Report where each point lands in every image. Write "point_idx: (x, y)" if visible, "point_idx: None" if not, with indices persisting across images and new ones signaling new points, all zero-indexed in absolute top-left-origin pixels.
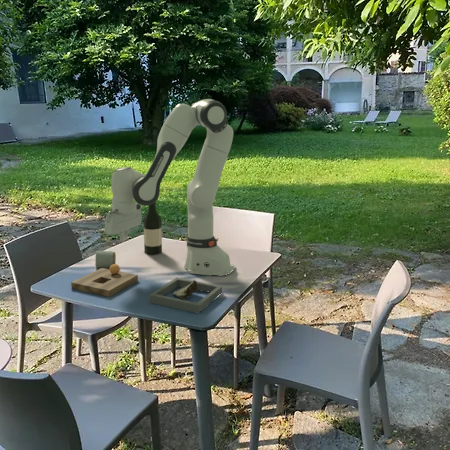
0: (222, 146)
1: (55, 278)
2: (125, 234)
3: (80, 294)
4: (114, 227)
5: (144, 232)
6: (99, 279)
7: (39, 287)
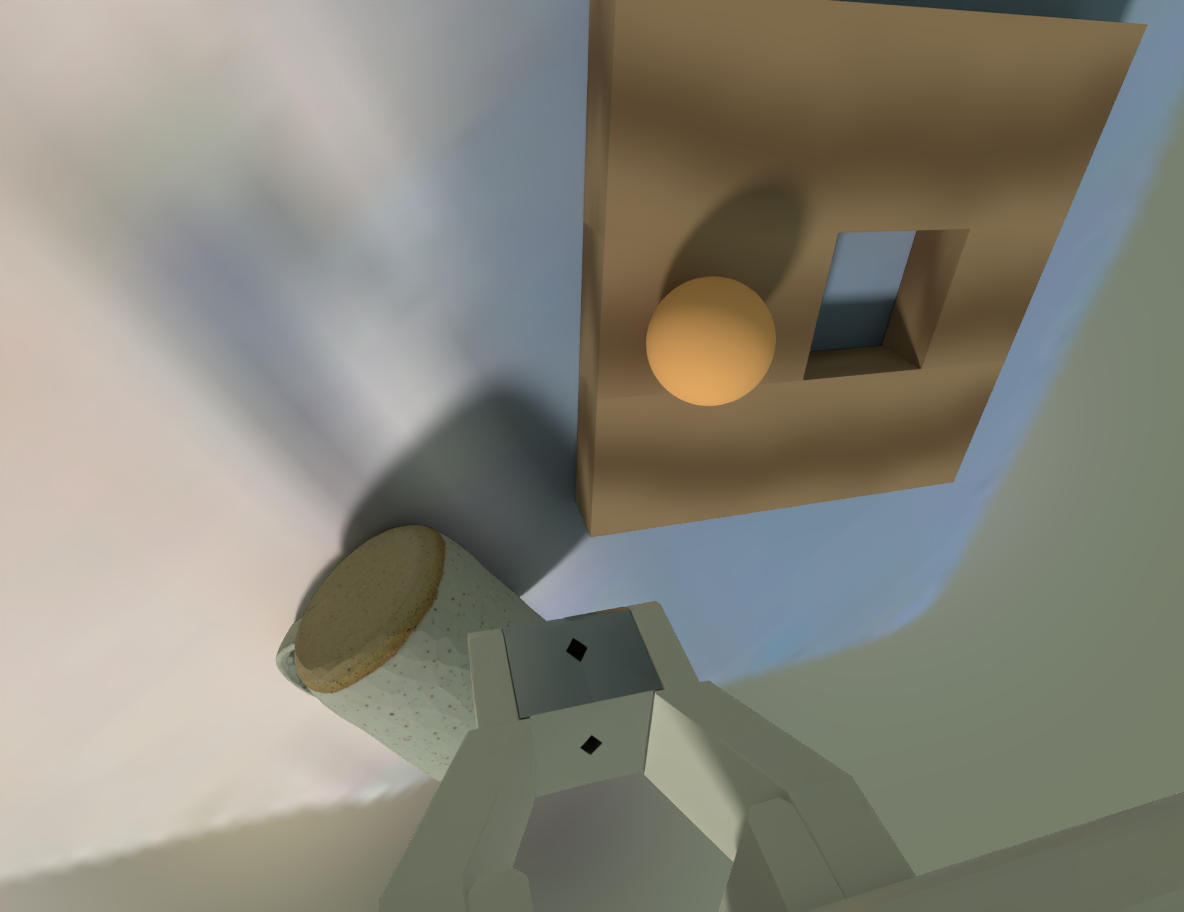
0: None
1: (777, 648)
2: (524, 786)
3: None
4: None
5: None
6: (810, 370)
7: (920, 601)
